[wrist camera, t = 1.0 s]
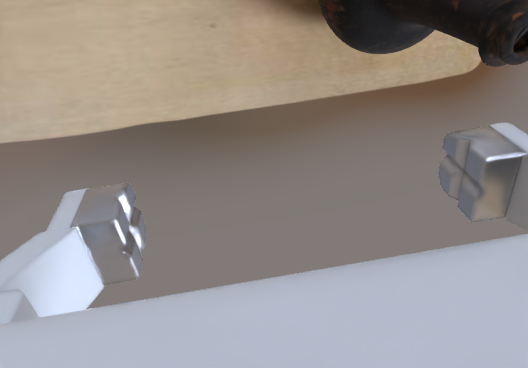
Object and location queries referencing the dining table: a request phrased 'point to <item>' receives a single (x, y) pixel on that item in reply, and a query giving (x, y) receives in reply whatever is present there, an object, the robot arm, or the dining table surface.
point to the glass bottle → (432, 25)
